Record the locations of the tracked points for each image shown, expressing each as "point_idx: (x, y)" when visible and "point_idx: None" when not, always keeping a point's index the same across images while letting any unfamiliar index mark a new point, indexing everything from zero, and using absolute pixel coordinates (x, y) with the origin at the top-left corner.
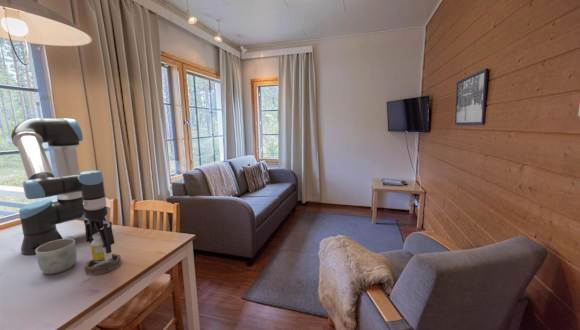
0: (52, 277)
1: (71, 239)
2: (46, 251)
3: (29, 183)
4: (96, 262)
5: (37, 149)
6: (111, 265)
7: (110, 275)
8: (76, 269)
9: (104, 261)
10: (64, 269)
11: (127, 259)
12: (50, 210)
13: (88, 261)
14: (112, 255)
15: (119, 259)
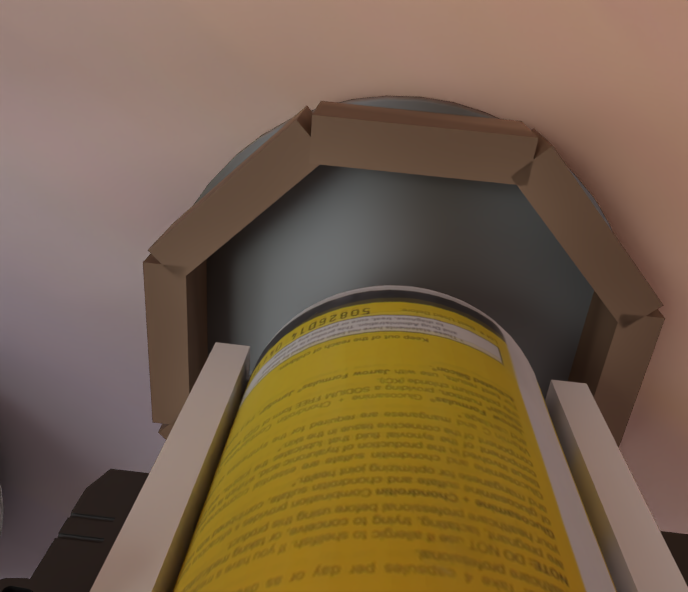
0: (26, 571)
1: None
2: None
3: None
4: (206, 310)
5: None
6: (620, 412)
7: (670, 454)
8: (87, 433)
9: (300, 257)
10: (2, 515)
11: (615, 49)
12: None
13: (155, 419)
14: (353, 164)
15: (618, 242)
